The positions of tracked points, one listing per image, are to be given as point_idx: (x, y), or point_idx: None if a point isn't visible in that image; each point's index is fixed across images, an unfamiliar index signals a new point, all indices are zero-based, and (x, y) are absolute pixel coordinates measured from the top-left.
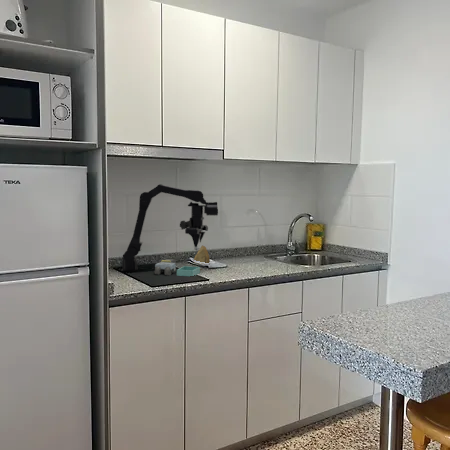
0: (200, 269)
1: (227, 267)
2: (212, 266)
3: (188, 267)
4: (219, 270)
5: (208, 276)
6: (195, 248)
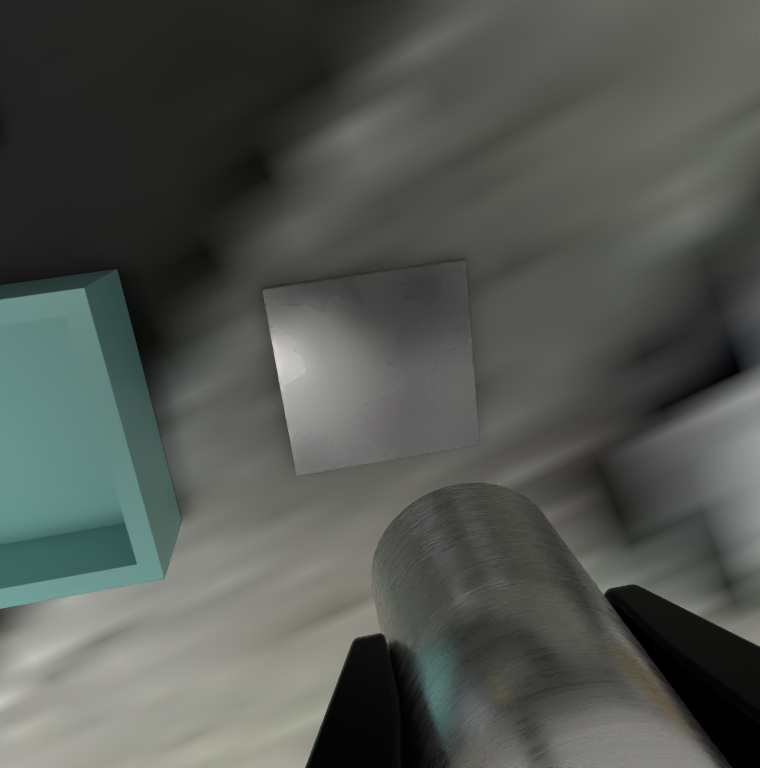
0: (405, 427)
1: (735, 625)
2: (750, 437)
3: (93, 383)
4: None
5: (60, 698)
6: (376, 604)
